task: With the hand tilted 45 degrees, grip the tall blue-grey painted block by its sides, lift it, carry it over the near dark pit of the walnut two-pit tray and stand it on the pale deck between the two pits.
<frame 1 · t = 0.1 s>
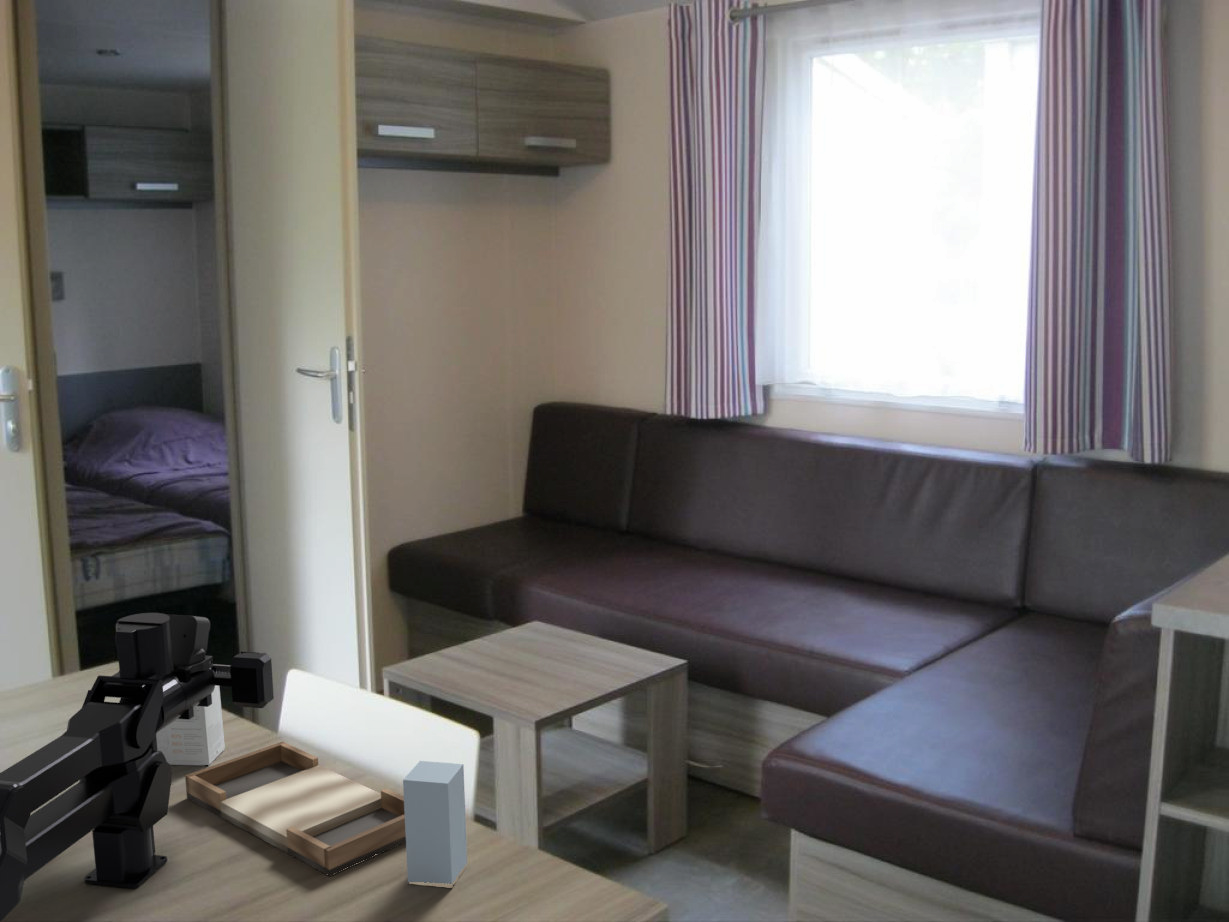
hand: (232, 654, 165), 17 cm above the table, tool horizontal, fingers open, 9 cm apart
block: (438, 875, 142), on the table
small box: (188, 758, 174), on the table
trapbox: (304, 814, 157), on the table
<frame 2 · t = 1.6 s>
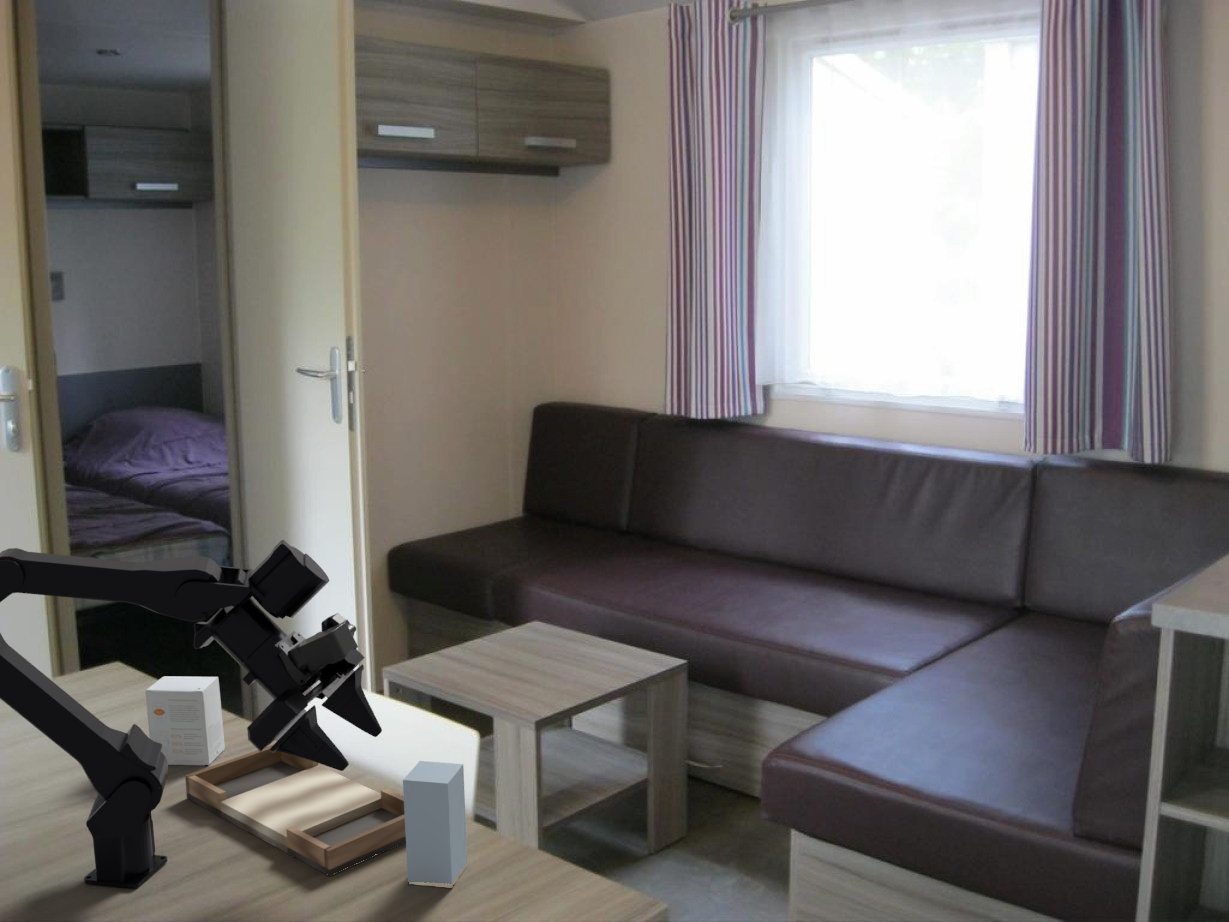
hand: (363, 750, 141), 14 cm above the table, tool tilted 45°, fingers open, 9 cm apart
nothing on the table moved.
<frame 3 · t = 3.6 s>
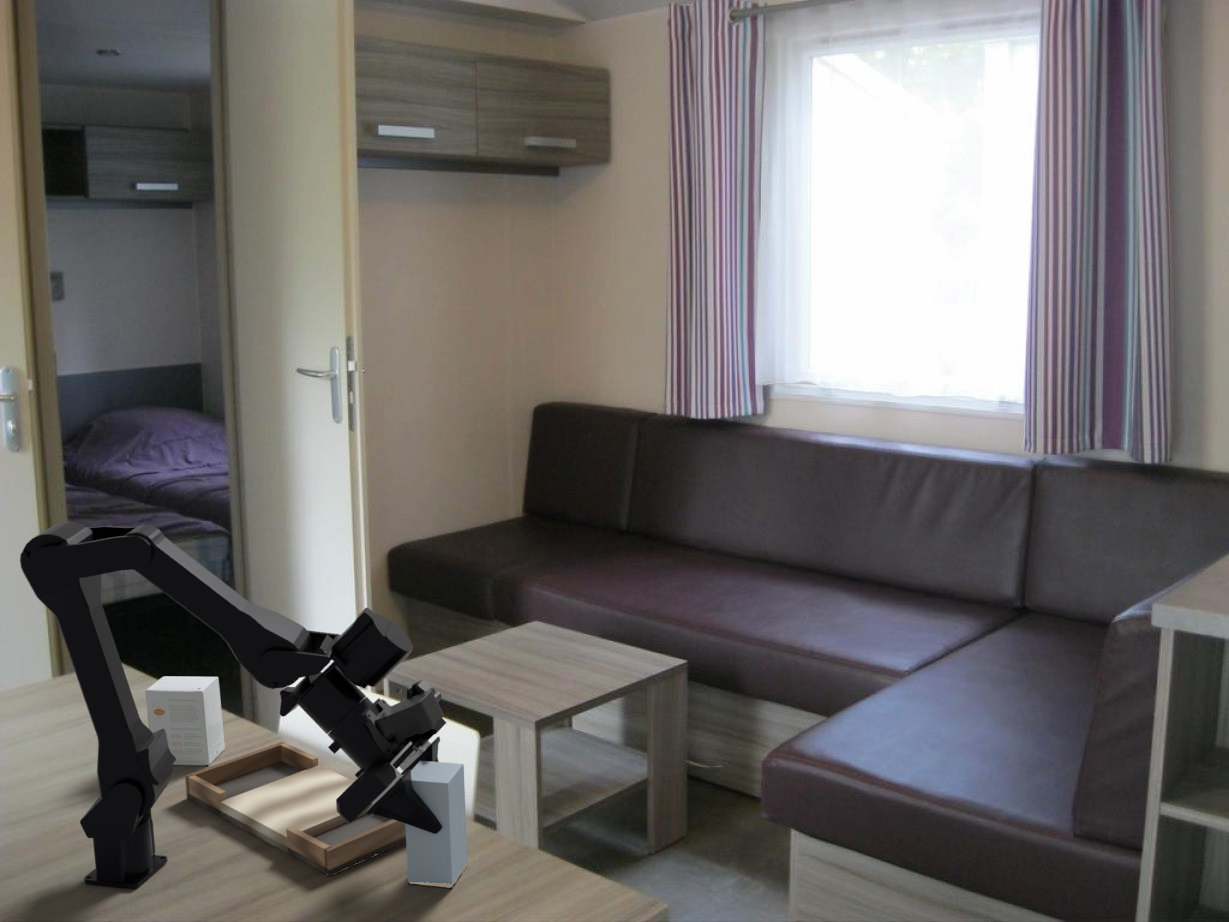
hand: (448, 819, 140), 7 cm above the table, tool tilted 45°, fingers closed on block, 5 cm apart
block: (438, 875, 142), on the table, touching gripper
everything else where it was.
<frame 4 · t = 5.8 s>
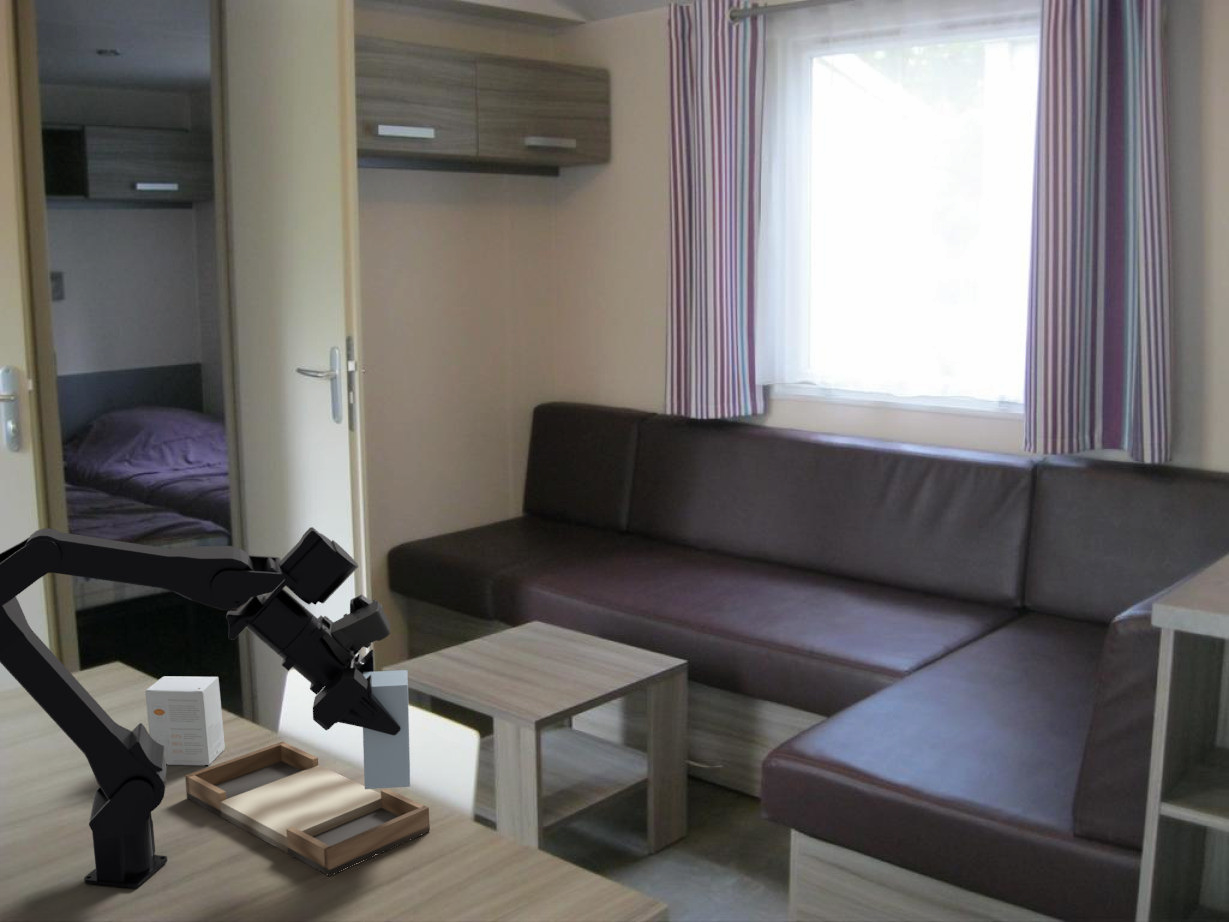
hand: (398, 723, 148), 14 cm above the table, tool tilted 45°, fingers closed on block, 5 cm apart
block: (387, 778, 149), point 8 cm above the table, touching gripper
everything else where it was.
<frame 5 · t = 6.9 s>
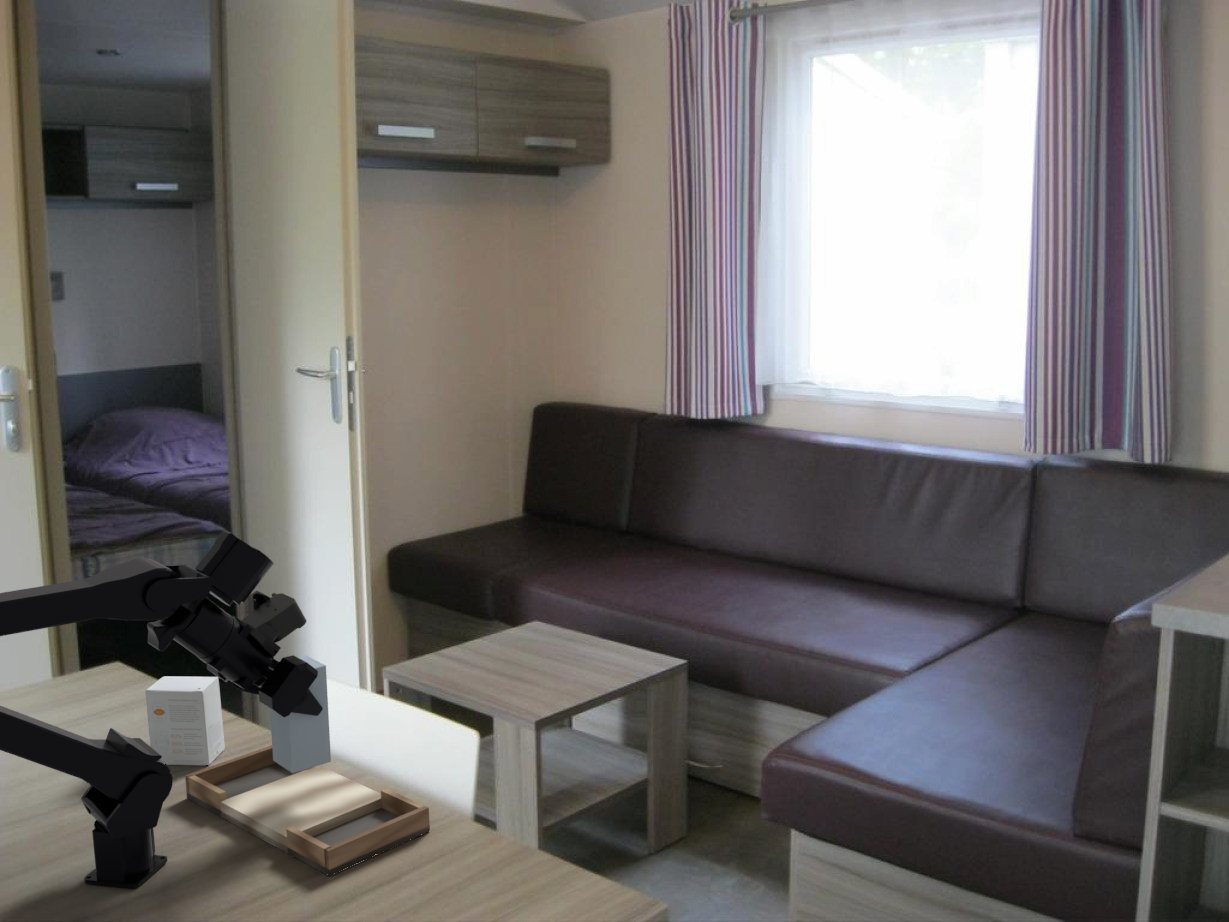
hand: (309, 705, 155), 13 cm above the table, tool tilted 45°, fingers closed on block, 5 cm apart
block: (301, 761, 156), point 7 cm above the table, touching gripper
everything else where it was.
when the fingers open (10 cm above the table, at t = 7.9 s): block drops 1 cm, resting on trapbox.
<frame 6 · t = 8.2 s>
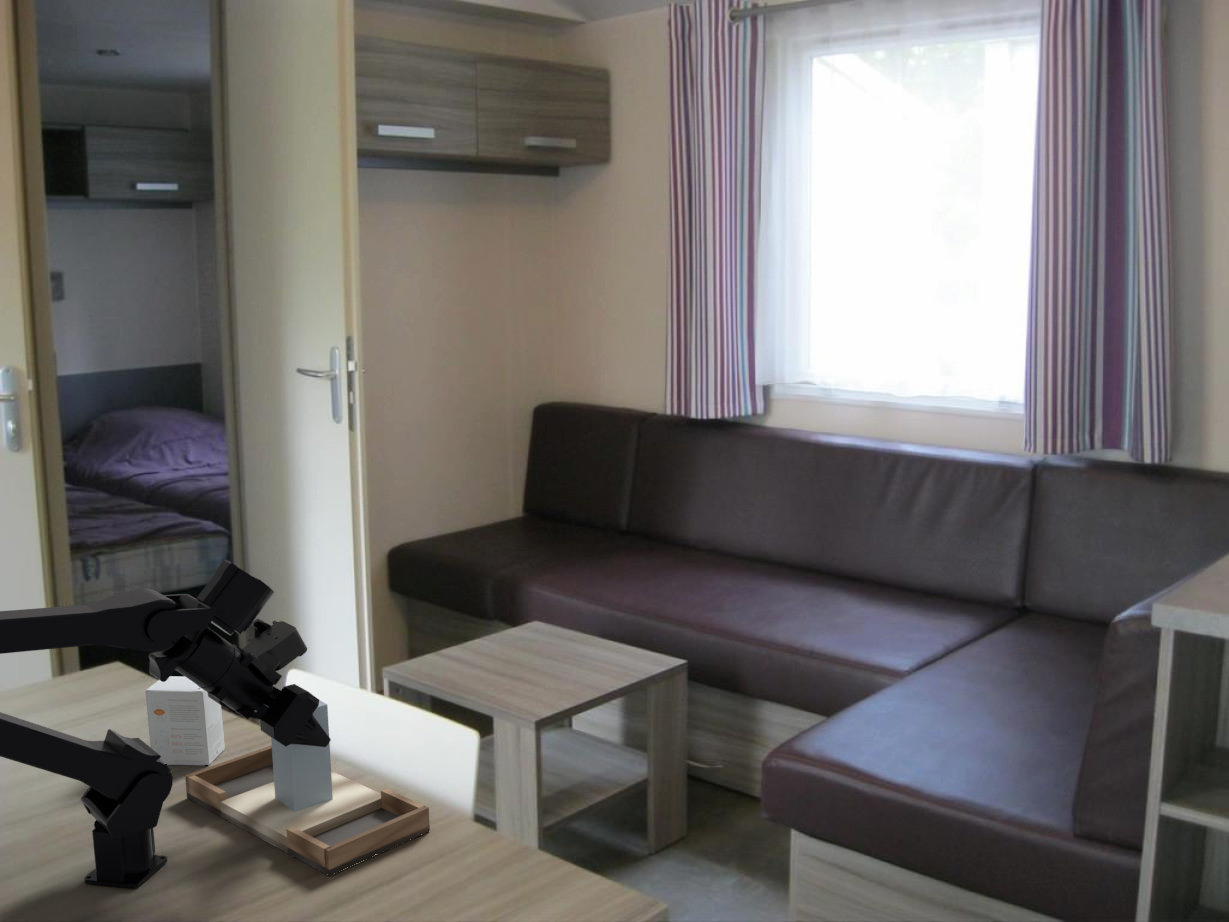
hand: (310, 732, 156), 10 cm above the table, tool tilted 45°, fingers open, 8 cm apart
block: (303, 798, 157), point 2 cm above the table, touching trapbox
everything else where it was.
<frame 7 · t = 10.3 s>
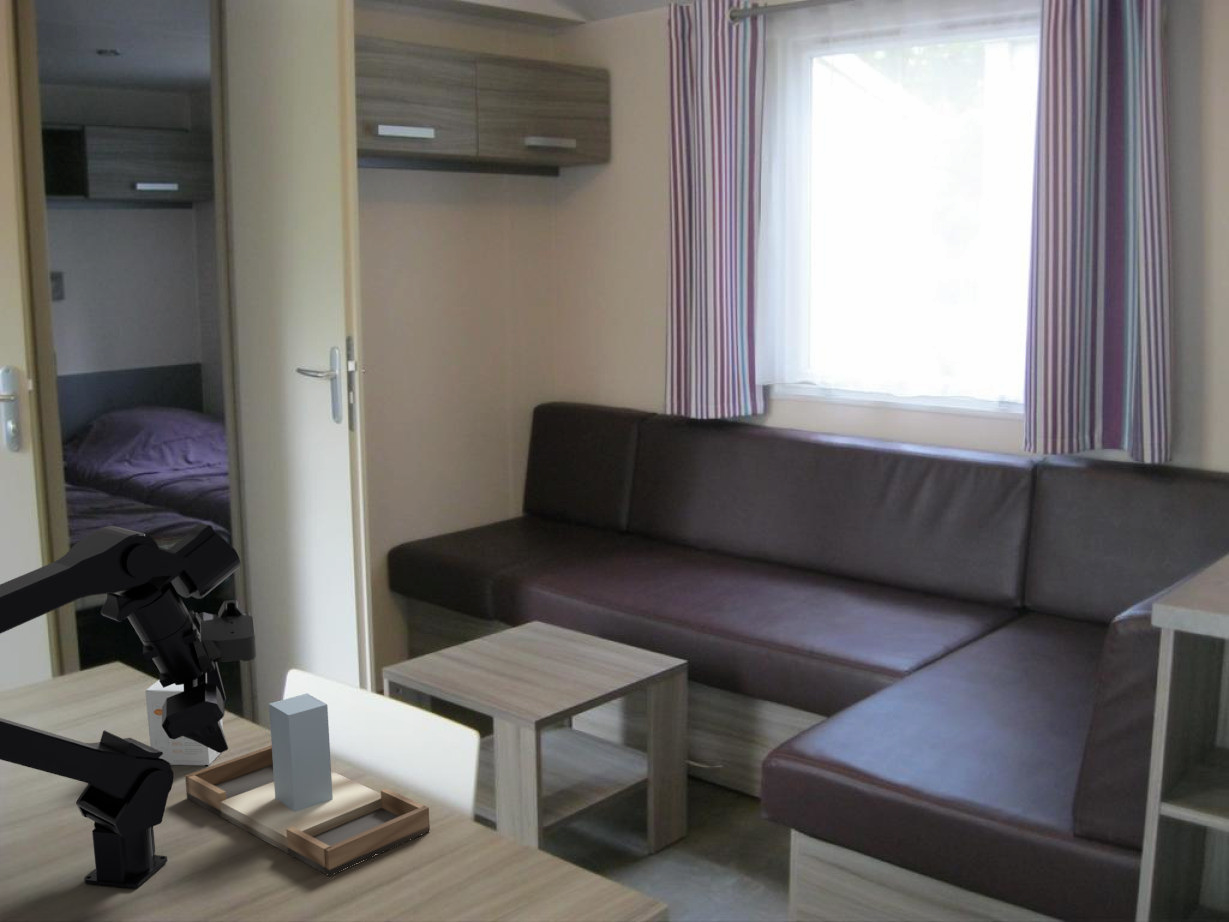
hand: (223, 725, 152), 13 cm above the table, tool tilted 25°, fingers open, 9 cm apart
nothing on the table moved.
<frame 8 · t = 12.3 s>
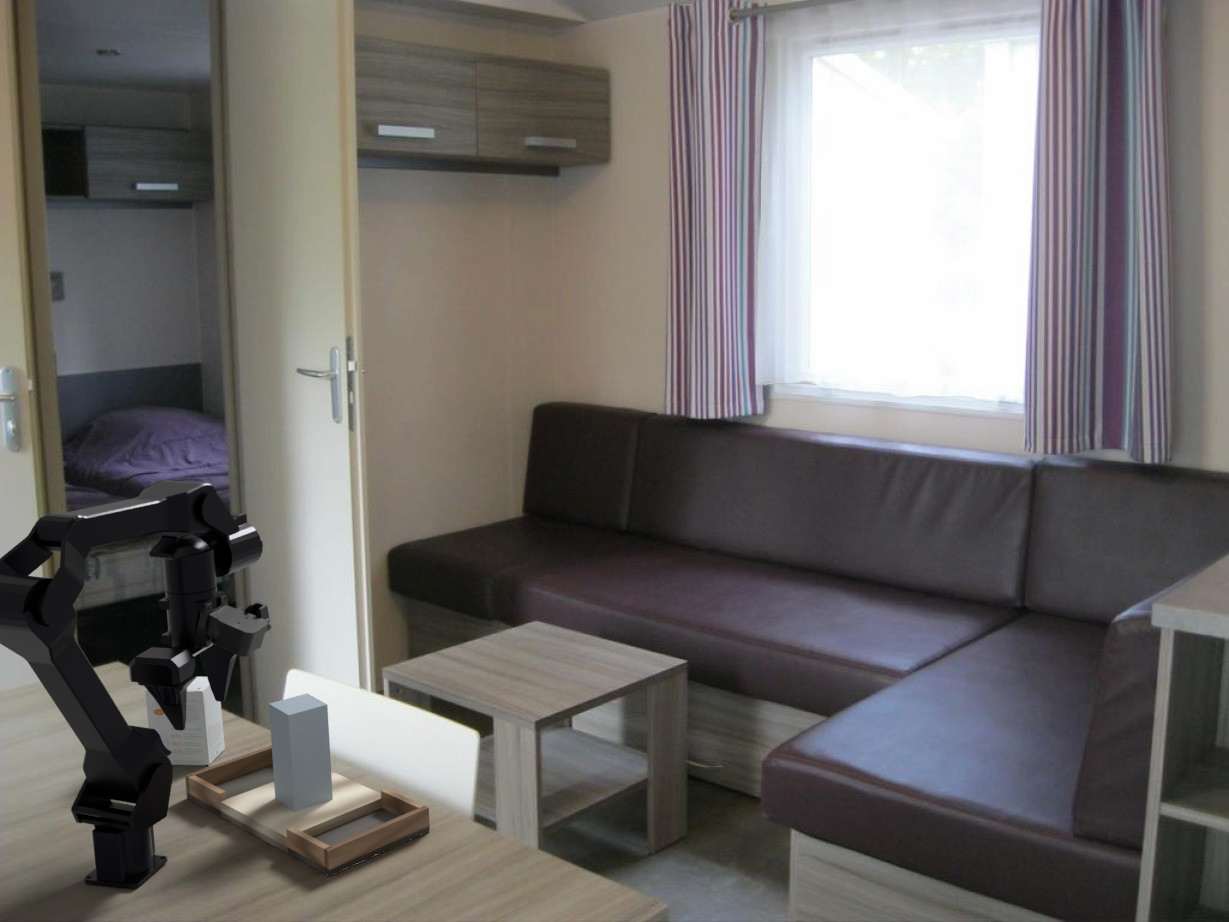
hand: (200, 715, 154), 13 cm above the table, tool pointing down, fingers open, 9 cm apart
nothing on the table moved.
at the end: block 0.0 cm from the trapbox (horizontally); block tilted 0°; the gripper is holding nothing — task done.
